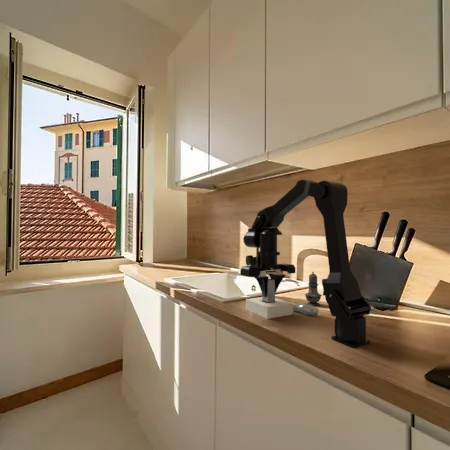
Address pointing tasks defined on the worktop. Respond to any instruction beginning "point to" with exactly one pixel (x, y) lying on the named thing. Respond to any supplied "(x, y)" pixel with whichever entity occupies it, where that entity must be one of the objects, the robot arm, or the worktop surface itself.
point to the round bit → (305, 309)
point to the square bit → (270, 292)
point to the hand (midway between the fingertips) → (268, 296)
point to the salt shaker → (313, 291)
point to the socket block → (269, 308)
